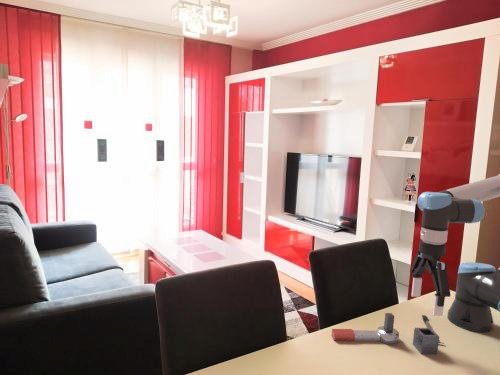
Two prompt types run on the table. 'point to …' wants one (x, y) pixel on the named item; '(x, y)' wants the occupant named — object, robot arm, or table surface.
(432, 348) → the socket
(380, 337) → the ratchet
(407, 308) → the table surface
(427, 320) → the tomahawk
